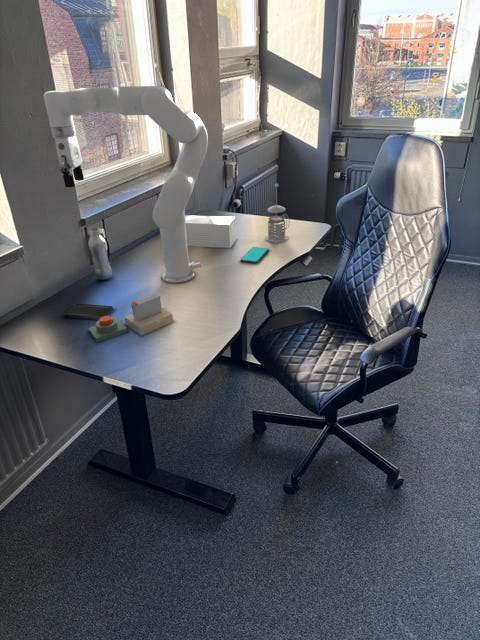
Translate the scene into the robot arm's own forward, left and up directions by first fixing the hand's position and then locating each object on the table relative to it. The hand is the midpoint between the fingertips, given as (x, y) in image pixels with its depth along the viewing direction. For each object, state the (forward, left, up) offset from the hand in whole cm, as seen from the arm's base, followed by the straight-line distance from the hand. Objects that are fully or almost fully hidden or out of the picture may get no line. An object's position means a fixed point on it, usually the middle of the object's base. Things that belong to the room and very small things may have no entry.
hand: (75, 183), depth 164 cm
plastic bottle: (-3, +1, -38) cm, 38 cm away
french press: (-82, +10, -38) cm, 91 cm away
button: (+10, +42, -34) cm, 55 cm away
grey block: (-3, +45, -34) cm, 57 cm away
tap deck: (-3, +45, -37) cm, 59 cm away
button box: (+10, +42, -37) cm, 57 cm away
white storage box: (-52, -10, -38) cm, 65 cm away
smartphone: (-62, +20, -37) cm, 75 cm away
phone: (+11, +26, -37) cm, 47 cm away
